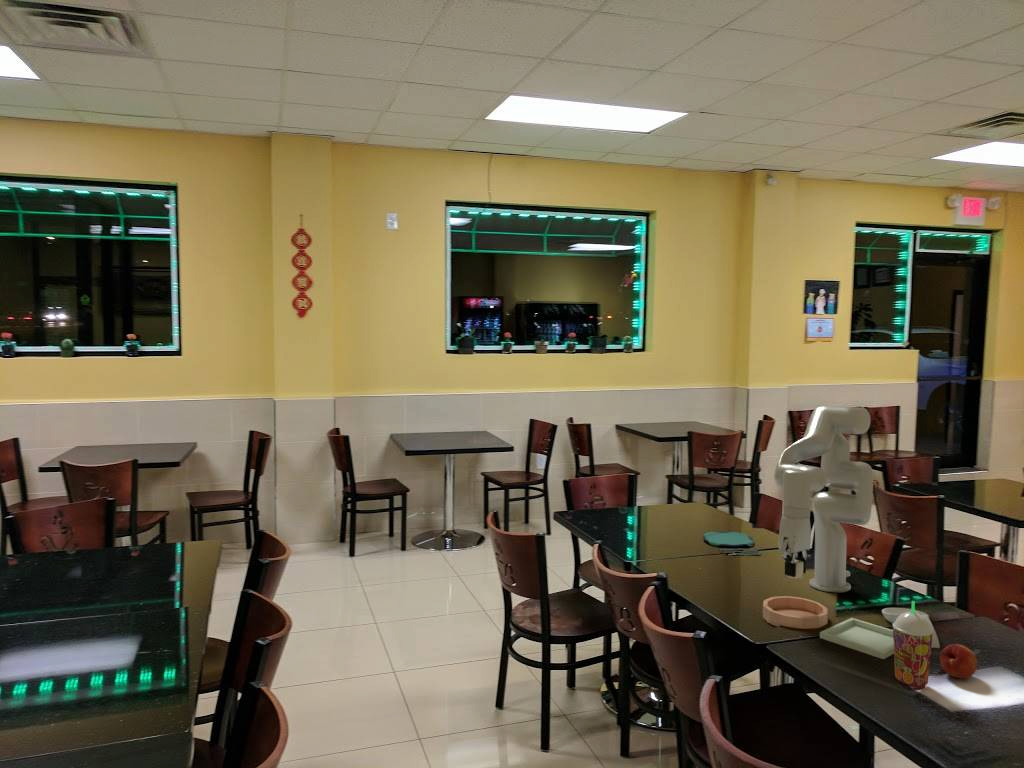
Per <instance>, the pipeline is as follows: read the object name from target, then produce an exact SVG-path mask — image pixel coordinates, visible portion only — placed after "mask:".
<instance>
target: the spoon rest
mask: <svg viewBox="0 0 1024 768" xmlns="http://www.w3.org/2000/svg"><path fill="white" fill-rule="evenodd" d="M911 609H912V608H908V607H907V608H906V607H886V608H883V609H882V610H881V613H882V615H883V617H884V619H886V620H887V621H888V622H889V623H891V624H892V625H893V623H894V622H895V620H896V619H897V617H898V616H899V615H901V614H902V613H905V612H911ZM915 613H918V614H920V615H922V616H923V617H924V618H925V619H926V620H927V621H928V622H929V624H930V626H931V628H932V629H933V634H932V646H931V649H932V648H934V649H940V648H941V646H940V641H939V638H938V635H937V632H936V630H935V627H934V625H933V623H932V622H931V619H930V615H929V614H928V613H926V612H923V611H921V610H917V609H915Z"/></svg>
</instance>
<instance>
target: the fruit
mask: <svg viewBox="0 0 1024 768" xmlns="http://www.w3.org/2000/svg"><path fill="white" fill-rule="evenodd" d="M939 653H940V654H939V660H940V665H941V666H940V667H941V668H942V670H943V671H944V672H945V673H946V674H948V675H950V676H951V677H954V678H957V679H963V680H964V679H967V678H970V677H972V676H973V675H974V674H976V673H975V672H976V670H977V666H978V660H977V658H976V655H975V654H974V652H973V650H972V649H970V648H969V647H967V646H965V645H963V644H959V643H953V644H949V645H947V646H945V647H944V648H943V649H942V650H941V651H940V652H939Z"/></svg>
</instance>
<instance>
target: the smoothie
mask: <svg viewBox="0 0 1024 768" xmlns="http://www.w3.org/2000/svg"><path fill="white" fill-rule="evenodd" d="M915 604H916V601H915V600H911V608H910V609H911V612H905V613H902V614H901V615H899V616H898V617H897V619H896V620H895V622H894V623H893V624H892V630H893V640H894V654H893V657H894V658H893V659H894V676H895V679H897V680H898V681H899V682H900V683H902V684H904V685H907V686H911V687H913V688H912V691H913V690H916V691H917V690H918V691H919V690H921V691H922V690H924V689H925V688H926V686H927V684H928V683H929V678H930V677H929V676H930V666H931V655H932V648H931V646H932V634H933V629H932V628H931V626H930V624H929V622H928V621H927V620H926V619H925V618H924V617H923V616H922V615H920V614H918V613H915V610H916V607H915V606H916V605H915Z"/></svg>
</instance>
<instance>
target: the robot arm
mask: <svg viewBox="0 0 1024 768" xmlns="http://www.w3.org/2000/svg"><path fill="white" fill-rule="evenodd" d="M870 426H871V415H870V412H869V410H868V409H867V408H865V407H856V406H855V407H853V406H842V405H841V406H839V405H838V406H837V405H821V406H818V407H816V408H814V410H813V411H812V412H811V414H810V418H809V419H808V422H807V426H806V429H805V432H804V435H803V437H802V438H801V439H799V440H797V441H795V442H794V443H792V444H791V445H790V446H788V447H786V448H785V449H784V450H783V451H782V452H781V454H780V457H779V459H778V462H777V463H776V467H775V470H774V476H773V477H774V482H775V484H776V486H778V487H779V488H782V506H781V507H782V511H781V513H782V516H781V519H780V525H779V531H778V543H777V544H778V546H777V547H778V550H779V555H780V556H782V559H783V562H784V575H785V576H787V575H788V576H792V577H795V576H796V563H794V562H795V560H800V561H803V575H804V574H806V570H807V569H806V568H807V567H806V565H807V559H808V553H809V551H810V548H811V543H812V541H811V540H812V539H811V538H812V531H811V529H812V528H811V519H810V518H811V493H816V494H815V495H814V496H813V499H812V511H813V517H814V519H813V520H814V577H812V578H810V579H809V580H808V581H809V585H810V586H811V587H812V588H814V589H817V590H819V591H823V592H829V593H846V592H849V591H851V589H852V585H851V584H850V582H848V581H847V578H848V577H850V576H851V572H850V571H849V570H847V534H846V531H845V530H844V528H843V526H842V525H841V524H842V523H843V524H847V525H856V526H864V525H867V524H868V523H869V522H870V519H871V517H872V515H871V514H872V505H873V493H874V492H873V491H874V471H873V468H872V466H871V465H870V464H868V463H866V462H864V461H853V460H851V459H850V457H851V445H850V443H849V441H848V440H847V438H846V436H845V435H844V434H848V435H862V434H863V435H864V434H865V433H867V432H868V430H869V429H870ZM818 457H821V458H820V459H821V460H820V467H818V466H813V465H803V464H797V463H799V462H802V461H807V460H808V459H813V458H818ZM824 487H827V488H831V489H837V490H838V489H839V490H847V491H854V492H855V494H850V493H844V492H843V493H842V492H834V491H822V490H823V489H824ZM840 523H841V524H840ZM790 554H791V555H790Z"/></svg>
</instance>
